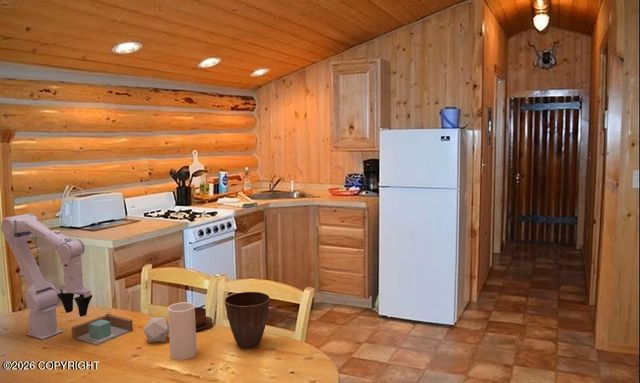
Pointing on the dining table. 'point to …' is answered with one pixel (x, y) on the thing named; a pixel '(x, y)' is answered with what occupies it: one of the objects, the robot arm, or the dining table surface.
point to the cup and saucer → (202, 319)
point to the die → (157, 329)
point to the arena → (117, 329)
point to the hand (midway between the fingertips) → (76, 313)
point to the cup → (182, 330)
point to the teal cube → (99, 329)
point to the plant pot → (247, 317)
